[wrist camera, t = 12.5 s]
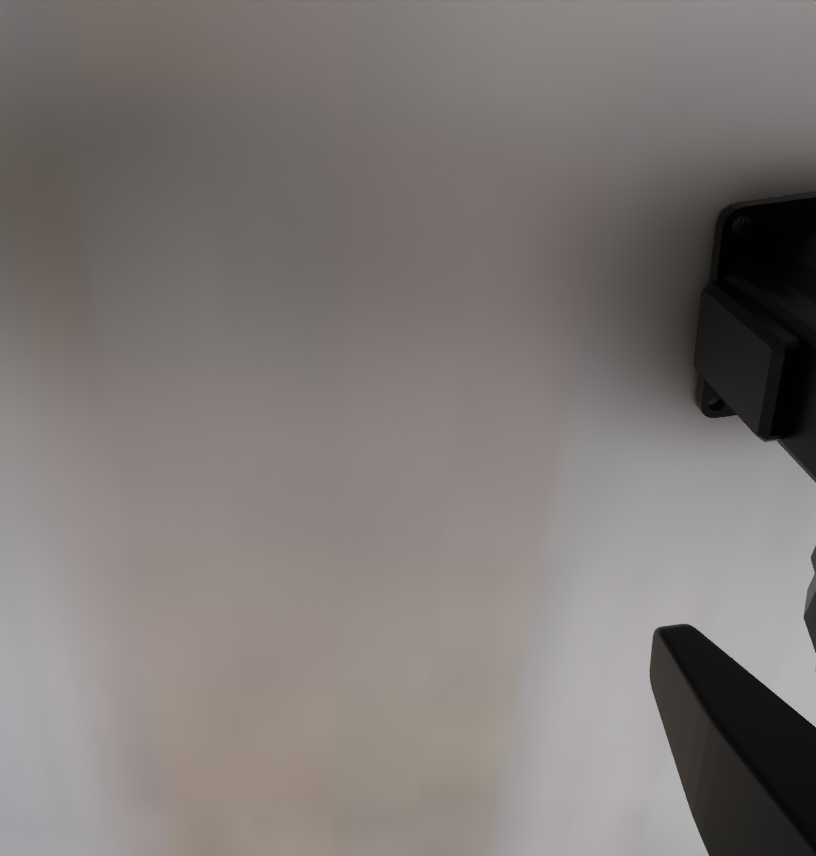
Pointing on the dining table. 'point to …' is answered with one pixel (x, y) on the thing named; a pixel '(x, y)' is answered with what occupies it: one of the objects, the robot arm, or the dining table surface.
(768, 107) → the dining table surface
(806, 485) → the dining table surface
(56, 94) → the dining table surface
